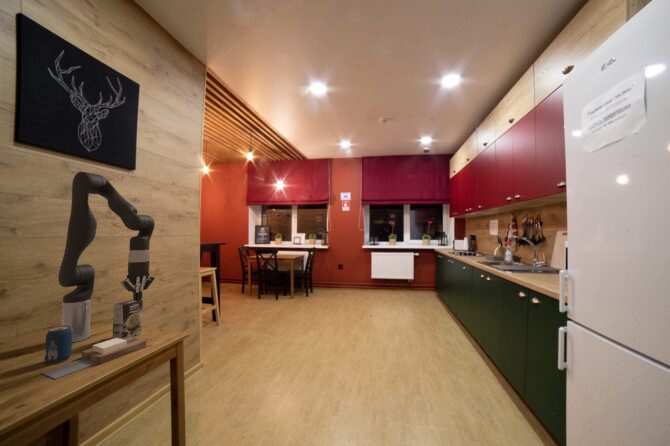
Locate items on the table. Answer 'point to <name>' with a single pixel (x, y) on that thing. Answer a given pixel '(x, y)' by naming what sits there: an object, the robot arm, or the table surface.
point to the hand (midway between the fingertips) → (137, 300)
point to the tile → (109, 345)
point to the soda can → (58, 344)
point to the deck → (114, 351)
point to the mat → (69, 368)
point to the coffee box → (127, 319)
